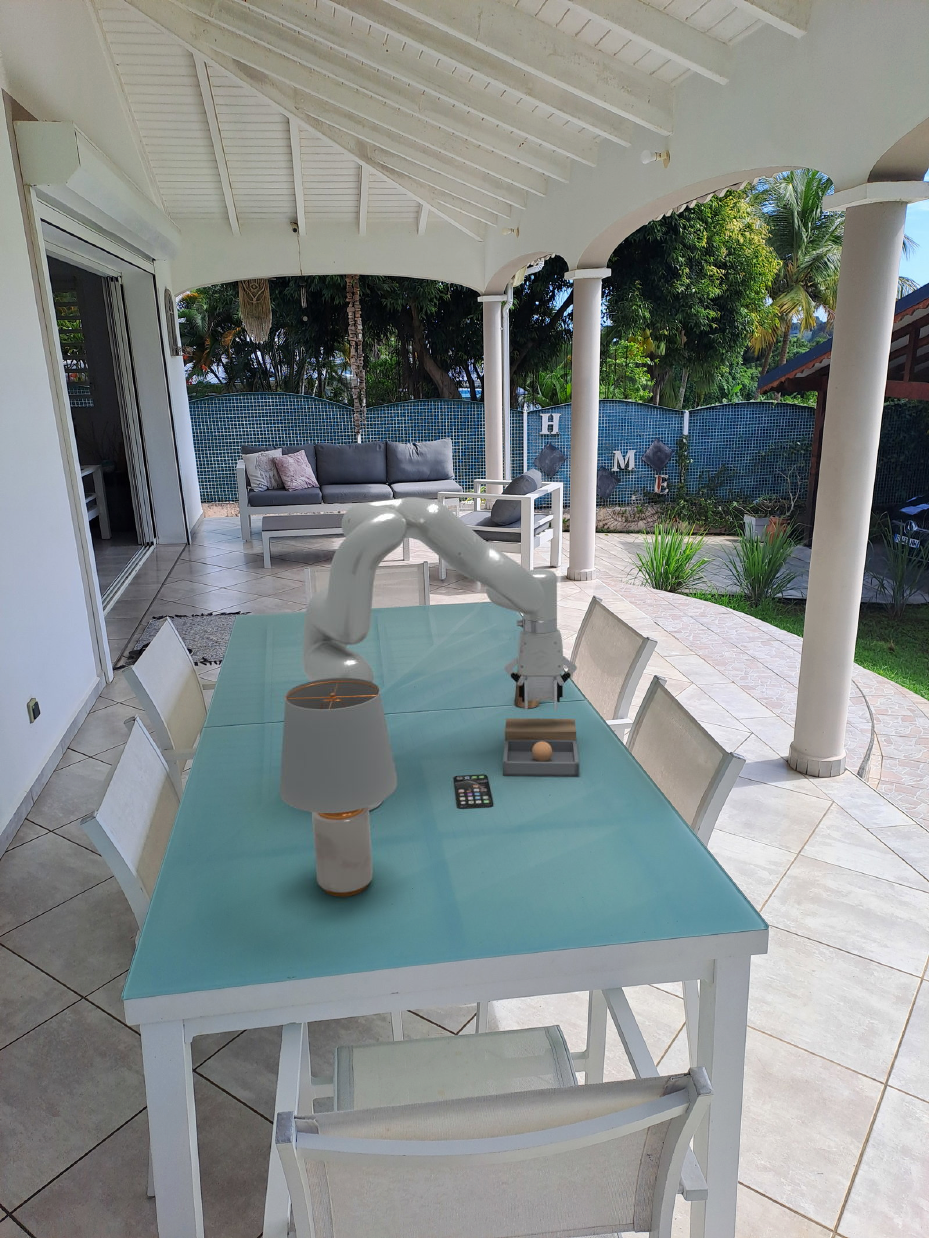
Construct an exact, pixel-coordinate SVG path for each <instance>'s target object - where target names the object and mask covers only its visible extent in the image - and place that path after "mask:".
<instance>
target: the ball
mask: <svg viewBox="0 0 929 1238" xmlns="http://www.w3.org/2000/svg"><path fill="white" fill-rule="evenodd" d="M532 754H533V757H534V758H535V759H536V760H538V761H540V762H544V761H547V760H548V759H550V757H551V755H552V748H551V746H550V745H549V744H548V743H547V742H543V741H541V742H537V743H536V744H535V745H534V746H533V749H532Z"/></svg>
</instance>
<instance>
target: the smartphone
mask: <svg viewBox="0 0 929 1238" xmlns="http://www.w3.org/2000/svg"><path fill="white" fill-rule="evenodd" d="M452 779H453V786H454V787H453V788H454V794H455V803H456V804H455V805H456V808H457V809H458V810H467V809H468V810H470V809H486V808H489V809H490V808H492V807H494V806H495V805H494V800H493V795H492V790H491V786H490V780H489V776H488V774H485V773H482V774H481V773H479V774H464V775H463V774H462V775H455V776H453V778H452Z"/></svg>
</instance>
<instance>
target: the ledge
mask: <svg viewBox="0 0 929 1238" xmlns="http://www.w3.org/2000/svg"><path fill="white" fill-rule="evenodd" d="M505 740H576V741H577V728H576V719H575V718H512V717H511V718H505V727H504V741H505Z"/></svg>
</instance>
